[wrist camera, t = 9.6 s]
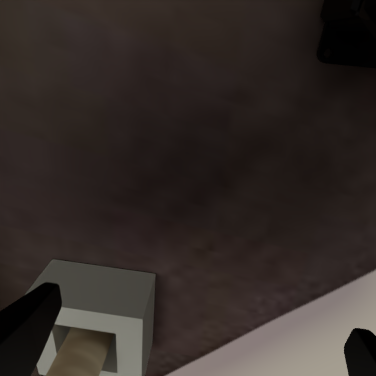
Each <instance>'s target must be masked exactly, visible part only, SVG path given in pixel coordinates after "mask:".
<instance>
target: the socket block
mask: <svg viewBox="0 0 376 376" xmlns="http://www.w3.org/2000/svg"><path fill="white" fill-rule="evenodd" d="M155 278H156V274H154V273H147V272H140V271H133V270H126V269H119V268H112V267H105V266H98V265H91V264H84V263H77V262H70V261H63V260H56V259H52V260H51V262H50V263H49V264H48V265H47V267H46V268H45V269H44V271H43V272H42V273H41V275H40V276H39V277H38V278H37V280H36V281H35V282H34V284H33V285H32V286H31V287H30V289H29V290H28V291H27V293H29V292H30V291H32V290H33V289H35V288H36V287H38V286H39V285H41V284H43V283H45V282H51V283H57V284H58V285H59V287H60V292H61V298H62V307H61V310H60V312H59V315H58V317H57V319H56V322H55V324H54V327H53V329H52V331H51V334H50V336H49V338H48V341H47V343H46V346H45V348H44V350H43V353H42V355H41V357H40V359H39V361H38V363H37V368H38V372H39V374H42V375H46V374H47V372H48V370H49V368H50V366H51V365H52V363H53V361H54V359H55V357H56V355H57V353H58V351H59V349H60V347H61V346H62V344H63V342H64V340H65V338H66V336H67V334H68V332H69V330H70V328H71V327H77V328H83V329H90V330H96V331H102V332H109V333H115V334H114V336H113V339H112V342H111V345H110V347H109V350H108V353H107V355H106V358H105V361H104V364H103V366H102V369H101V372H100V374H99V376H145V373H146V368H147V364H148V360H149V355H150V351H151V347H152V342H153V322H154V300H155ZM27 293H26V294H27ZM26 294H25V295H26Z"/></svg>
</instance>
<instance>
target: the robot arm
mask: <svg viewBox="0 0 376 376" xmlns="http://www.w3.org/2000/svg"><path fill="white" fill-rule="evenodd" d="M321 18H322V20H323V22H325V24H324V28H323V32H322V36H321V39H320V43H319V47H318V51H317V57H318V60H319V61H320V62H323V63H329V64H339V65H349V66H359V67H369V68H376V0H324V4H323V8H322V12H321ZM327 48H331V50H332V53H331V55H330V56H329V57H327V58H326V57H325V56H324V52H325V50H326V49H327ZM61 307H62V298H61V292H60V287H59V285H58V284H57V283H51V282H45V283H43V284H41V285H39V286H38V287H36V288H35V289H33V290H32V291H30V292H29V293H27V294H26V295H24V296H23V297H21V298H20V299H18V300H17V301H15V302H14V303H12V304H11V305H9V306H8V307H6V308H5V309H3V310H2V311H0V376H31V374H32V373H33V371H34V369H35V367H36V365H37V363H38V361H39V359H40V357H41V355H42V353H43V350H44V348H45V346H46V343H47V341H48V338H49V336H50V334H51V331H52V329H53V327H54V324H55V322H56V319H57V317H58V315H59V312H60V310H61ZM344 354H345V359H346V364H347V369H348V374H349V376H376V336H375V335H374V334H373V333H372V332H371V331H369V330H366V329H360V328H355V329H353V330H352V332H351V334H350V336H349V338H348V339H347V341H346V343H345V346H344Z"/></svg>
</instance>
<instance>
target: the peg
mask: <svg viewBox="0 0 376 376" xmlns="http://www.w3.org/2000/svg"><path fill="white" fill-rule="evenodd" d="M114 334H115V333H109V332H102V331H96V330H90V329H83V328H77V327H71V328H70V330H69V332H68V334H67V336H66V338H65V340H64V342H63V344H62V346H61V347H60V349H59V351H58V353H57V355H56V357H55V359H54V361H53V363H52V365H51V366H50V368H49V370H48V372H47V374H46V376H99V374H100V372H101V369H102V366H103V364H104V361H105V358H106V355H107V353H108V350H109V347H110V345H111V342H112V339H113V336H114Z"/></svg>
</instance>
